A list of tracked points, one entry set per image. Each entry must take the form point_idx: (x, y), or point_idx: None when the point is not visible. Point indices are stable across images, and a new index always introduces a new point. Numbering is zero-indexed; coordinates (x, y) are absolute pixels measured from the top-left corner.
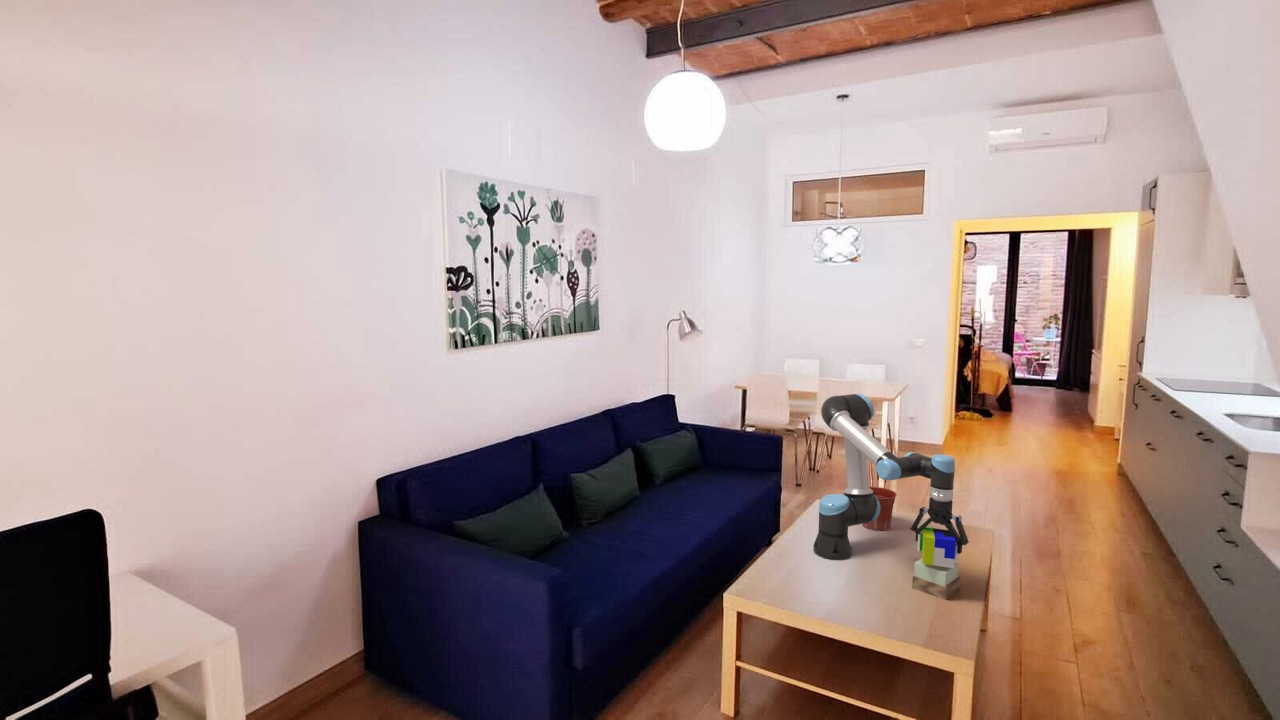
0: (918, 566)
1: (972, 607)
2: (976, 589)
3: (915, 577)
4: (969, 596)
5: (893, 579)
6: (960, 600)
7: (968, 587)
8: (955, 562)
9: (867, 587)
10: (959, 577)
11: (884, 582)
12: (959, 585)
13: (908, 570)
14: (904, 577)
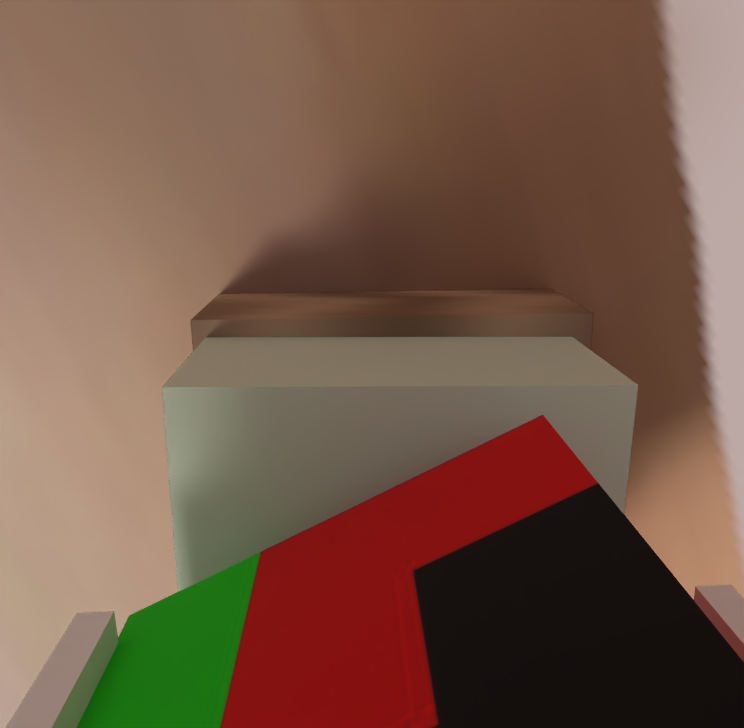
0: None
1: (737, 543)
2: (682, 163)
3: None
4: (667, 368)
5: (39, 555)
6: (627, 499)
7: (608, 180)
8: None
9: None
10: (591, 329)
11: (26, 660)
12: (561, 295)
13: (7, 258)
14: (77, 443)
